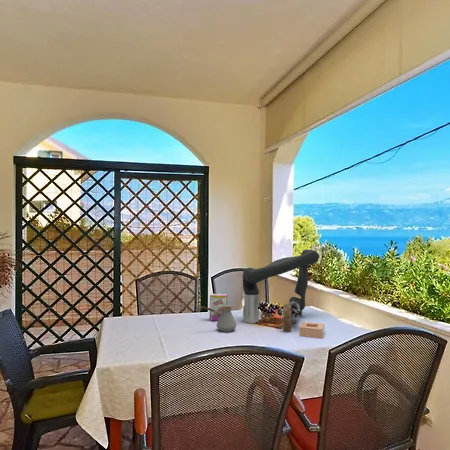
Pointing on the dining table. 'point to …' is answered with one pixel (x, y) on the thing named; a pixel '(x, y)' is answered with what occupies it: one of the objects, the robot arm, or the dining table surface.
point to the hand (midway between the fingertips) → (287, 315)
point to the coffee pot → (224, 319)
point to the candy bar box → (217, 305)
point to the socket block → (311, 329)
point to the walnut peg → (287, 318)
